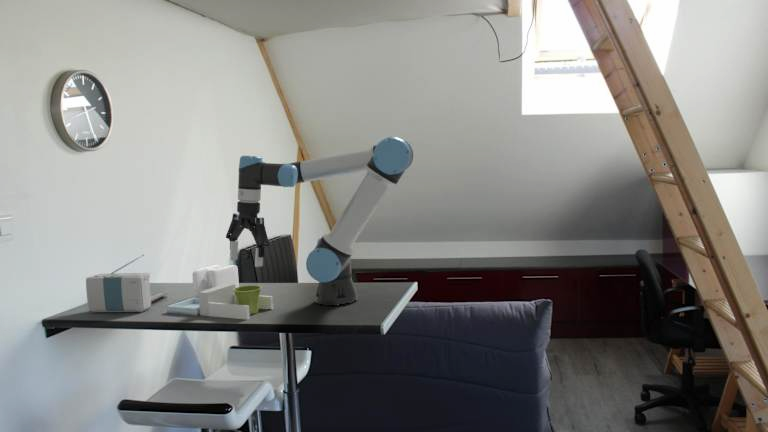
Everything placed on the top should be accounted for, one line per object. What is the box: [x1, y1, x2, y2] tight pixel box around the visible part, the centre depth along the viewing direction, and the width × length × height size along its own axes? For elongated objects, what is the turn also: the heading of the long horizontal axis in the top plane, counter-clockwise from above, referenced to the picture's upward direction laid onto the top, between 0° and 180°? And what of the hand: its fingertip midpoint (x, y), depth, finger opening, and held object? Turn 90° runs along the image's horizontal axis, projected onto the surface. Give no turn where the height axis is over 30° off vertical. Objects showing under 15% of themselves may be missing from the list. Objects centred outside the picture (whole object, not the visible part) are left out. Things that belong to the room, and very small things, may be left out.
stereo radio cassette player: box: [85, 254, 152, 314], centre depth 210 cm, size 21×8×20 cm, turn 82°
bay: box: [198, 284, 274, 321], centre depth 202 cm, size 20×14×8 cm
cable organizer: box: [191, 264, 240, 298], centre depth 227 cm, size 15×11×12 cm
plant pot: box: [233, 284, 262, 316], centre depth 200 cm, size 9×9×9 cm
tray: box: [166, 297, 201, 317], centre depth 208 cm, size 13×13×2 cm
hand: (245, 263), depth 201 cm, fingers open, 13 cm apart
